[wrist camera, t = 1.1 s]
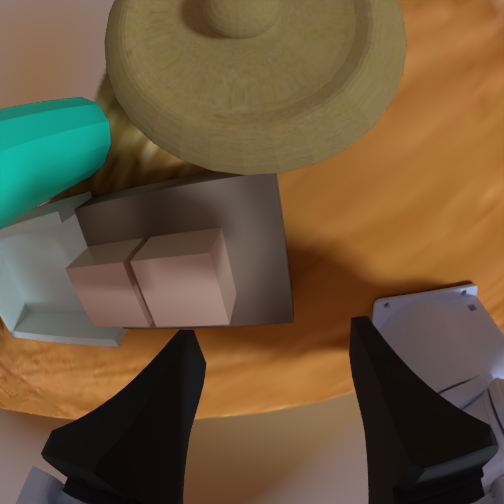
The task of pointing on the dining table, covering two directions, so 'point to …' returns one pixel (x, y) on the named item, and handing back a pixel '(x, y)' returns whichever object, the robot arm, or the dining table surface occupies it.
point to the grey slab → (209, 217)
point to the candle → (48, 151)
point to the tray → (47, 278)
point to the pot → (254, 76)
